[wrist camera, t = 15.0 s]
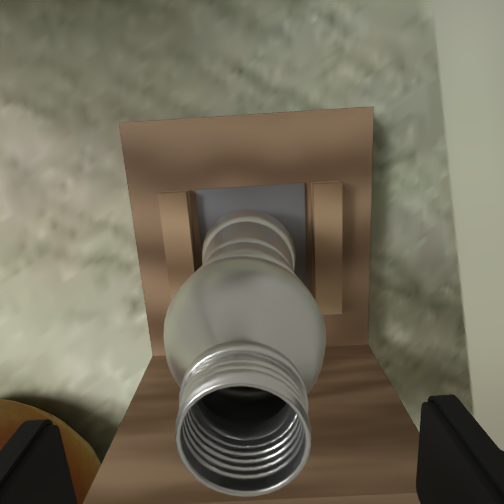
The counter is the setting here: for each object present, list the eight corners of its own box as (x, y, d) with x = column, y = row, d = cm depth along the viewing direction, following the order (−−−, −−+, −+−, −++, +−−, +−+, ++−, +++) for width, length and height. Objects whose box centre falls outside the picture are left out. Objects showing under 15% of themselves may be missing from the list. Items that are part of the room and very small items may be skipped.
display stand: (129, 124, 29) (-14, 100, 14) (363, 109, 29) (496, 66, 13) (161, 355, 35) (85, 530, 19) (359, 344, 35) (451, 513, 19)
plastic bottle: (237, 302, 30) (214, 572, 11) (189, 232, 29) (63, 405, 10) (307, 260, 29) (413, 477, 10) (261, 185, 28) (282, 275, 9)
